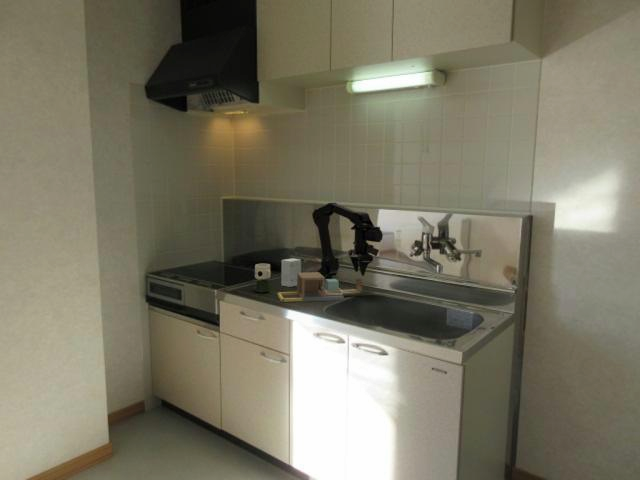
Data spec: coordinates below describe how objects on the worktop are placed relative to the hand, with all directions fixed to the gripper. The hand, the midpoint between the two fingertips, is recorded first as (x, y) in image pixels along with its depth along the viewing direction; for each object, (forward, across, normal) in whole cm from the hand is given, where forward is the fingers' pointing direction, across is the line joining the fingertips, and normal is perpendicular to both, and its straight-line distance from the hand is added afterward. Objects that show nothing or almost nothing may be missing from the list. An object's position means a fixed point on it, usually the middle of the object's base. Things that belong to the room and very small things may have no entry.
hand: (359, 273), depth 213 cm
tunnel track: (+10, 0, +23) cm, 25 cm away
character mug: (+11, +14, +43) cm, 47 cm away
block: (+8, 0, +13) cm, 15 cm away
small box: (+11, +27, +27) cm, 40 cm away
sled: (+9, 0, +8) cm, 12 cm away
